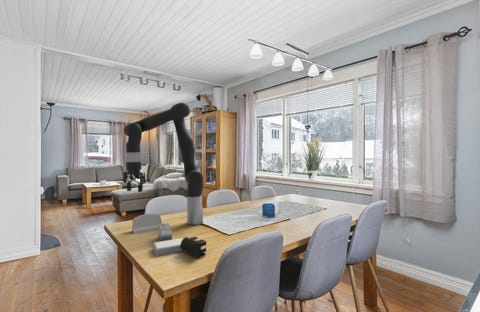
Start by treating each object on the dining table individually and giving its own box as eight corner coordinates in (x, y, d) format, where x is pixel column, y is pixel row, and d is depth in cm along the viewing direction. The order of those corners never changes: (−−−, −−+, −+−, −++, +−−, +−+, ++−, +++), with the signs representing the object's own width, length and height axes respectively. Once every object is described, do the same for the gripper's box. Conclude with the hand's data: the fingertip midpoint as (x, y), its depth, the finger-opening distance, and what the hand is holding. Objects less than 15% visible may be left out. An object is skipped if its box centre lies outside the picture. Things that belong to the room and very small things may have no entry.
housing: (168, 236, 134) (167, 222, 134) (171, 242, 125) (171, 227, 125) (158, 237, 132) (158, 223, 132) (161, 244, 123) (161, 229, 123)
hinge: (133, 234, 138) (131, 215, 140) (131, 234, 141) (130, 216, 144) (163, 228, 146) (162, 211, 149) (161, 229, 150) (160, 212, 153)
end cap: (180, 253, 111) (180, 238, 111) (193, 249, 117) (193, 234, 116) (193, 260, 104) (193, 244, 104) (207, 255, 110) (206, 239, 109)
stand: (183, 243, 123) (183, 237, 123) (188, 250, 115) (187, 243, 115) (153, 248, 117) (153, 242, 117) (156, 256, 109) (156, 249, 109)
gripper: (148, 160, 133) (149, 191, 134) (130, 160, 140) (131, 189, 140) (137, 161, 126) (138, 193, 127) (118, 161, 133) (119, 191, 133)
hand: (134, 191), depth 133 cm, fingers open, 8 cm apart
